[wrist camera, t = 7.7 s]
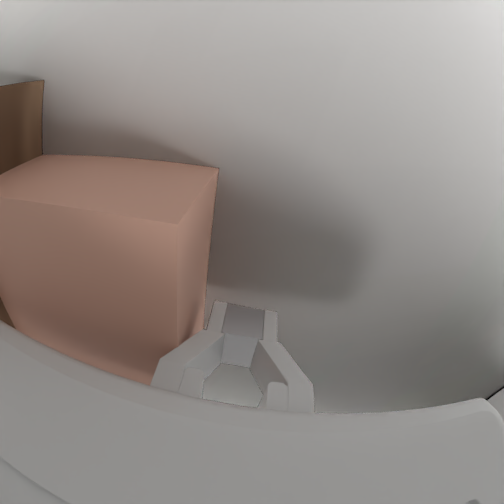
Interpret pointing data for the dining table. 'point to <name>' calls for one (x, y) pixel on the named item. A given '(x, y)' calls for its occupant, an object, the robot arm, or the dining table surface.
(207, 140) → the dining table surface
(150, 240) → the terracotta block
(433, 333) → the dining table surface
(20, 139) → the walnut board
